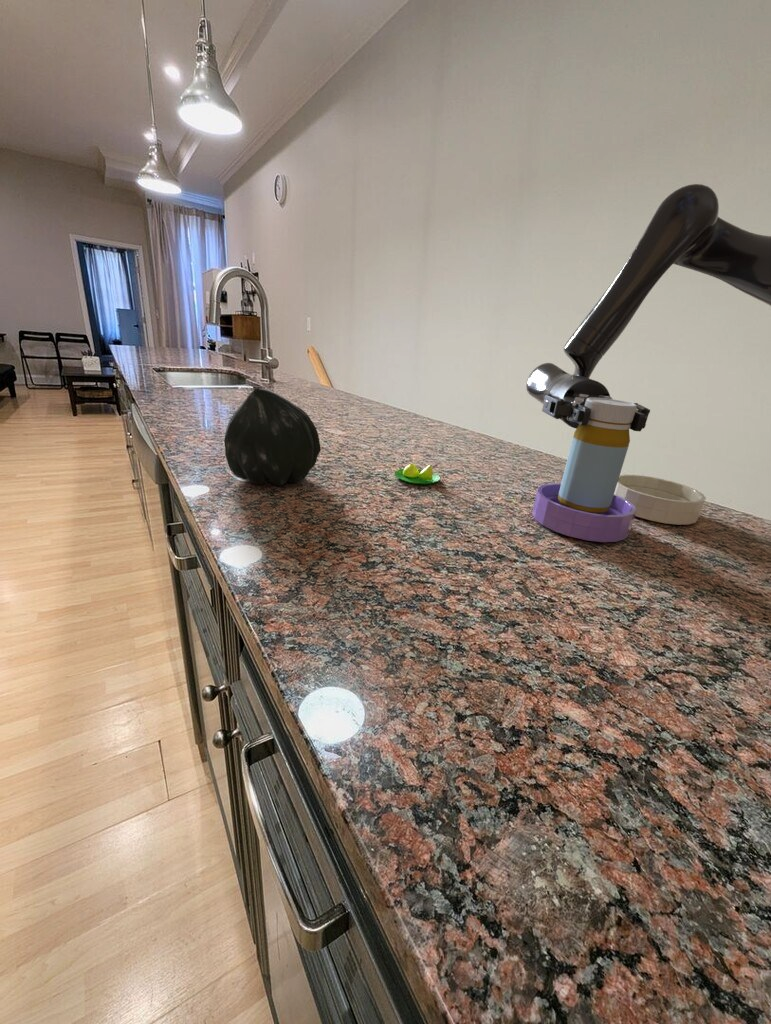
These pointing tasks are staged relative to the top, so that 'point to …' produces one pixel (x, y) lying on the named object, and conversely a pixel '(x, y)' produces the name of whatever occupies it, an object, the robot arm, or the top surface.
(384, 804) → the top surface
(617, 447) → the bottle
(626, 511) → the lavender bowl
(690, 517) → the cream bowl
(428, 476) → the plate of pears
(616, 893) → the top surface
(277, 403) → the squash
